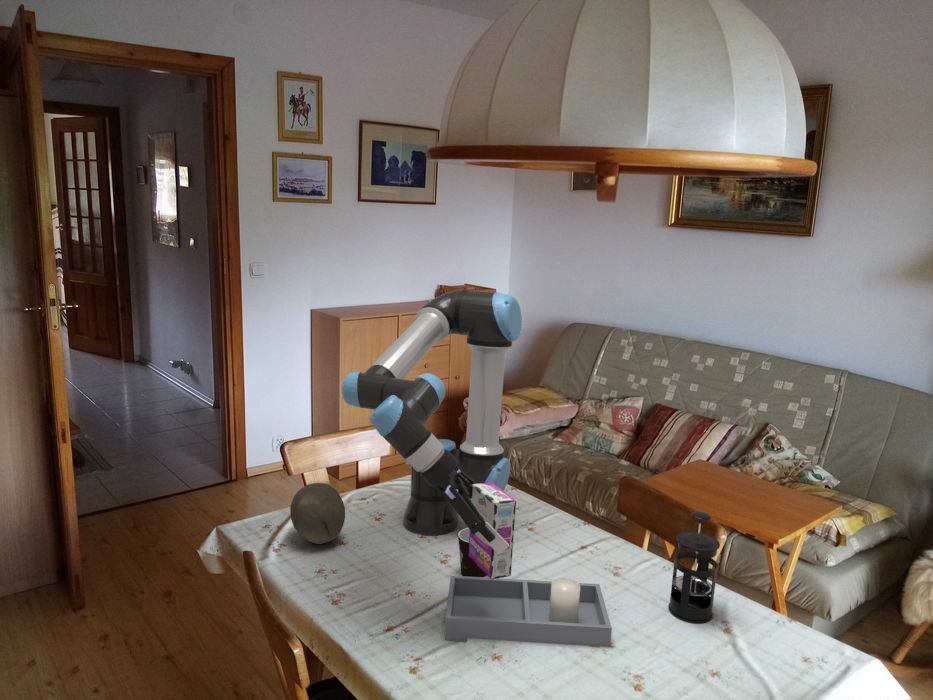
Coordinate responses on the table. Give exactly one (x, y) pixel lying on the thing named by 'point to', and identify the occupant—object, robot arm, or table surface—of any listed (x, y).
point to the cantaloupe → (317, 513)
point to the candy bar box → (501, 517)
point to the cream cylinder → (564, 600)
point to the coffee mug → (466, 562)
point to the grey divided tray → (521, 612)
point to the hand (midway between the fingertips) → (503, 535)
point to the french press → (694, 575)
